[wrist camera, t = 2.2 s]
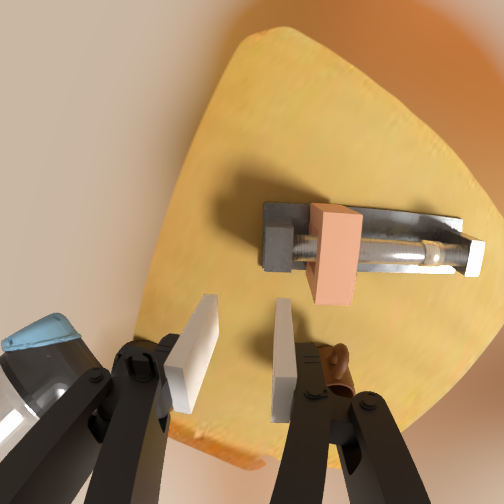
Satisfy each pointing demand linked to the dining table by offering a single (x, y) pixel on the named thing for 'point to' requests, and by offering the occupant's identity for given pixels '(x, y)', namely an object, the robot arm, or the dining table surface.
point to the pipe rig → (374, 241)
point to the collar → (334, 253)
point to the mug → (337, 370)
